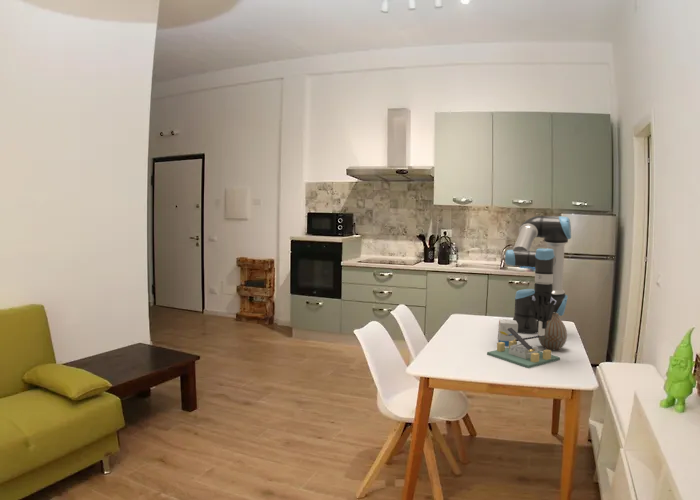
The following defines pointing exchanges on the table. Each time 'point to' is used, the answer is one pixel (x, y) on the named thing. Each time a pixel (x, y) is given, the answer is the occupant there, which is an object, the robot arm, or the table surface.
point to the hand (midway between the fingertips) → (541, 335)
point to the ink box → (506, 331)
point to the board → (521, 360)
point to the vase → (554, 334)
